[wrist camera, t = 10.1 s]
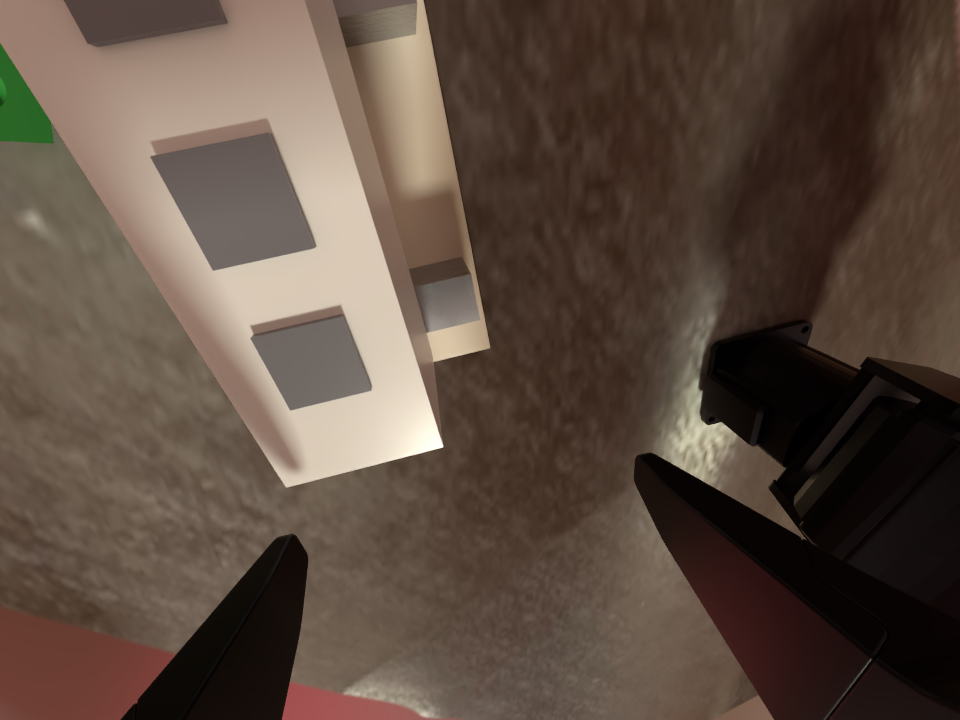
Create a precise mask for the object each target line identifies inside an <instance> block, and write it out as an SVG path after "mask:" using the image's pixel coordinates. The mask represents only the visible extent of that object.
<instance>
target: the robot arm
mask: <svg viewBox="0 0 960 720" xmlns="http://www.w3.org/2000/svg"><path fill="white" fill-rule="evenodd" d="M812 326H813V325H812V323H810V322H808V321H805V320H800V321H796V322H792V323H788V324H784V325H780V326H776V327H772V328H768V329H764V330H760V331H756V332H752V333H748V334H744V335H740V336H736V337H732V338H728V339H724V340H720V341H718V342H716V343H715V344H714V345H713V346H712V349H711V354H710V361H709V368H708V374H707V381H706V388H705V395H704V401H703V408H702V415H701V420H702V421H703V422H704V423H706V424H707V425H711V424H715V423H719V422H723V423H724V424H725V425H726V426H727V427H729V428H730V429H731V430H732V431H733V432H735V433H736V434H737V435H738V436H739V437H741V438H742V439H743V440H744V441H745V442H747V443H748V444H749V445H751V446H758V447H760V448H761V449H762V450H763V451H765V452H766V453H767V454H768V455H770V456H771V457H772V458H773V459H774V460H776V461H777V462H778V463H779V464H781V465H782V466H783V467H786V468H785V469H784V470H783V472H782V473H781V474H780V476H779V477H778V478H777V480H773V482H772V483H771V484H770V485H769V487H768V488H769V490H770V491H771V492H772V494H773V495H774V496H775V498H776V499H777V500H778V502H779V503H780V505H781V506H782V507H783V509H784V510H785V511H786V513H787V514H788V515H789V517H790V518H791V519H792V521H793V522H794V523H795V525H796V526H797V527H798V529H799V530H800V531H801V533H802V534H803V536H804V537H805V538H806V540H805V539H801V537H800V536H798V535H796V534H794V533H793V532H791V531H789V530H787V529H786V528H784V527H782V526H780V525H779V524H777V523H775V522H773V521H772V520H770V519H768V518H766V517H765V516H763V515H761V514H759V513H757V512H756V511H754V510H752V509H750V508H749V507H747V506H745V505H743V504H742V503H740V502H738V501H736V500H735V499H733V498H731V497H729V496H728V495H726V494H724V493H722V492H721V491H719V490H717V489H715V488H714V487H712V486H710V485H708V484H706V483H705V482H703V481H701V480H699V479H698V478H696V477H694V476H692V475H691V474H689V473H687V472H685V471H684V470H682V469H680V468H678V467H677V466H675V465H673V464H671V463H670V462H668V461H666V460H664V459H663V458H661V457H659V456H657V455H655V454H653V453H646V454H641V455H638V456H636V458H635V469H634V481H635V484H636V487H637V489H638V491H639V493H640V495H641V497H642V499H643V501H644V503H645V505H646V507H647V509H648V511H649V513H650V515H651V518H652V520H653V522H654V524H655V526H656V528H657V530H658V532H659V534H660V536H661V538H662V540H663V541H664V543H665V545H666V546H667V548H668V550H669V551H670V553H671V555H672V556H673V558H674V559H675V561H676V563H677V564H678V566H679V567H680V569H681V571H682V572H683V574H684V576H685V577H686V579H687V580H688V582H689V584H690V585H691V587H692V588H693V590H694V592H695V593H696V595H697V596H698V598H699V600H700V601H701V603H702V604H703V606H704V608H705V609H706V611H707V613H708V614H709V616H710V617H711V619H712V621H713V622H714V624H715V625H716V627H717V629H718V630H719V632H720V633H721V635H722V637H723V638H724V640H725V641H726V643H727V645H728V646H729V648H730V649H731V651H732V653H733V654H734V656H735V658H736V659H737V661H738V662H739V664H740V666H741V667H742V669H743V670H744V672H745V674H746V675H747V677H748V678H749V680H750V682H751V683H752V685H753V686H754V688H755V690H756V691H757V693H758V695H759V696H760V698H761V699H762V701H763V703H764V704H765V706H766V707H767V709H768V711H769V712H770V714H771V715H772V717H773V719H774V720H960V378H958V377H956V376H953V375H950V374H947V373H944V372H942V371H939V370H936V369H933V368H930V367H925V366H919V365H913V364H907V363H901V362H896V361H890V360H884V359H878V358H872V357H867V358H866V359H865V360H864V362H863V363H862V364H861V366H860V367H861V369H860V370H859V369H857V368H855V367H853V366H850V365H848V364H846V363H844V362H842V361H840V360H837V359H835V358H833V357H831V356H829V355H827V354H824V353H822V352H820V351H818V350H816V349H814V348H811V347H809V346H807V344H808V341H809V338H810V334H811V331H812ZM721 348H722V349H721ZM720 349H721V350H720ZM307 569H308V555H307V552H306V551H305V549H304V547H303V546H302V544H301V543H300V541H299V539H298V538H297V536H296V535H294V534H289V535H285V536H280V537H278V538H276V539H275V540H274V541H273V542H272V543H271V544H270V546H269V547H268V548H267V549H266V550H265V551H264V553H263V554H262V555H261V556H260V557H259V558H258V560H257V561H256V562H255V563H254V564H253V565H252V567H251V568H250V569H249V570H248V571H247V572H246V574H245V575H244V576H243V577H242V578H241V579H240V581H239V582H238V583H237V584H236V585H235V586H234V588H233V589H232V590H231V591H230V592H229V593H228V595H227V596H226V597H225V598H224V599H223V600H222V602H221V603H220V604H219V605H218V606H217V608H216V609H215V610H214V611H213V612H212V613H211V615H210V616H209V617H208V618H207V619H206V620H205V622H204V623H203V624H202V625H201V626H200V627H199V629H198V630H197V631H196V632H195V633H194V634H193V636H192V637H191V638H190V639H189V640H188V641H187V643H186V644H185V645H184V646H183V647H182V648H181V650H180V651H179V652H178V653H177V654H176V655H175V657H174V658H173V659H172V660H171V661H170V663H169V664H168V665H167V666H166V667H165V668H164V670H163V671H162V672H161V673H160V674H159V675H158V677H157V678H156V679H155V680H154V681H153V682H152V684H151V685H150V686H149V687H148V688H147V689H146V691H145V692H144V693H143V694H142V695H141V696H140V698H139V699H138V701H137V703H136V704H134V705H133V706H132V707H131V708H130V709H129V710H128V711H127V713H126V714H125V715H124V716H123V717H122V719H121V720H282V716H283V711H284V706H285V701H286V697H287V692H288V687H289V683H290V678H291V673H292V668H293V664H294V659H295V654H296V649H297V645H298V640H299V635H300V629H301V622H302V615H303V605H304V596H305V587H306V578H307Z"/></svg>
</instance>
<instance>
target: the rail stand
mask: <svg viewBox="0 0 960 720" xmlns="http://www.w3.org/2000/svg"><path fill="white" fill-rule="evenodd" d="M333 3H334V7H335V10H336V14H337V17H338V21H339V24H340V28H341V31H342V35H343V38H344V42H345V46H346V49H347V53H348V56H349V60H350V63H351V67H352V70H353V74H354V77H355V81H356V84H357V88H358V92H359V95H360V99H361V102H362V106H363V109H364V113H365V116H366V120H367V123H368V127H369V131H370V134H371V138H372V141H373V145H374V148H375V152H376V155H377V159H378V162H379V166H380V170H381V173H382V177H383V180H384V184H385V187H386V191H387V194H388V198H389V201H390V205H391V208H392V212H393V216H394V219H395V223H396V226H397V230H398V233H399V237H400V240H401V244H402V247H403V251H404V255H405V258H406V262H407V265H408V269H409V272H410V276H411V279H412V283H413V286H414V290H415V293H416V297H417V301H418V304H419V308H420V311H421V315H422V318H423V322H424V325H425V329H426V332H427V336H428V340H429V343H430V347H431V350H432V355H433V362H435V361H439V360H443V359H447V358H452V357H456V356H460V355H464V354H468V353H472V352H476V351H480V350H484V349H488V348H490V344H489V339H488V334H487V329H486V323H485V318H484V313H483V308H482V303H481V297H480V292H479V287H478V282H477V277H476V271H475V266H474V261H473V256H472V250H471V245H470V240H469V235H468V230H467V224H466V219H465V214H464V209H463V204H462V198H461V193H460V188H459V183H458V178H457V172H456V167H455V162H454V157H453V151H452V146H451V141H450V136H449V131H448V125H447V120H446V115H445V110H444V105H443V99H442V94H441V89H440V84H439V78H438V73H437V68H436V63H435V58H434V52H433V47H432V42H431V37H430V32H429V26H428V21H427V16H426V11H425V6H424V0H333Z"/></svg>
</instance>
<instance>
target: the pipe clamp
mask: <svg viewBox="0 0 960 720" xmlns="http://www.w3.org/2000/svg"><path fill="white" fill-rule="evenodd" d="M0 141H14V142H34V143H53V136H52V129H51V121H50V120H49V118H48V116H47V115H46V113H45V112H44V110H43V109H42V107H41V106H40V104H39V102H38V101H37V99H36V98H35V96H34V95H33V93H32V92H31V90H30V88H29V87H28V85H27V84H26V82H25V81H24V79H23V78H22V76H21V74H20V73H19V71H18V70H17V68H16V67H15V65H14V64H13V62H12V60H11V59H10V57H9V56H8V54H7V53H6V51H5V50H4V48H3V46H2V45H1V43H0Z"/></svg>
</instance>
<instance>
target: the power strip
mask: <svg viewBox="0 0 960 720" xmlns="http://www.w3.org/2000/svg"><path fill="white" fill-rule="evenodd" d="M0 43H1V45H2V46H3V48H4V50H5V51H6V53H7V54H8V56H9V57H10V59H11V60H12V62H13V64H14V65H15V67H16V68H17V70H18V71H19V73H20V74H21V76H22V78H23V79H24V81H25V82H26V84H27V85H28V87H29V88H30V90H31V92H32V93H33V95H34V96H35V98H36V99H37V101H38V102H39V104H40V106H41V107H42V109H43V110H44V112H45V113H46V115H47V116H48V118H49V120H50V121H51V123H52V124H53V126H54V127H55V129H56V130H57V132H58V134H59V135H60V137H61V138H62V140H63V141H64V143H65V144H66V146H67V148H68V149H69V151H70V152H71V154H72V155H73V157H74V158H75V160H76V162H77V163H78V165H79V166H80V168H81V169H82V171H83V172H84V174H85V175H86V177H87V179H88V180H89V182H90V183H91V185H92V186H93V188H94V189H95V191H96V193H97V194H98V196H99V197H100V199H101V200H102V202H103V203H104V205H105V207H106V208H107V210H108V211H109V213H110V214H111V216H112V217H113V219H114V221H115V222H116V224H117V225H118V227H119V228H120V230H121V231H122V233H123V235H124V236H125V238H126V239H127V241H128V242H129V244H130V245H131V247H132V249H133V250H134V252H135V253H136V255H137V256H138V258H139V259H140V261H141V263H142V264H143V266H144V267H145V269H146V270H147V272H148V273H149V275H150V277H151V278H152V280H153V281H154V283H155V284H156V286H157V287H158V289H159V291H160V292H161V294H162V295H163V297H164V298H165V300H166V301H167V303H168V305H169V306H170V308H171V309H172V311H173V312H174V314H175V315H176V317H177V319H178V320H179V322H180V323H181V325H182V326H183V328H184V329H185V331H186V333H187V334H188V336H189V337H190V339H191V340H192V342H193V343H194V345H195V347H196V348H197V350H198V351H199V353H200V354H201V356H202V357H203V359H204V361H205V362H206V364H207V365H208V367H209V368H210V370H211V371H212V373H213V375H214V376H215V378H216V379H217V381H218V382H219V384H220V385H221V387H222V388H223V390H224V392H225V393H226V395H227V396H228V398H229V399H230V401H231V402H232V404H233V406H234V407H235V409H236V410H237V412H238V413H239V415H240V416H241V418H242V420H243V421H244V423H245V424H246V426H247V427H248V429H249V430H250V432H251V434H252V435H253V437H254V438H255V440H256V441H257V443H258V444H259V446H260V448H261V449H262V451H263V452H264V454H265V455H266V457H267V458H268V460H269V462H270V463H271V465H272V466H273V468H274V469H275V471H276V472H277V474H278V476H279V477H280V479H281V480H282V482H283V483H284V485H285V486H286V488H287V487H291V486H295V485H298V484H302V483H306V482H310V481H314V480H318V479H322V478H326V477H329V476H333V475H337V474H341V473H345V472H349V471H353V470H357V469H361V468H364V467H368V466H372V465H376V464H380V463H384V462H388V461H392V460H396V459H399V458H403V457H407V456H411V455H415V454H419V453H423V452H427V451H431V450H434V449H438V448H442V447H443V440H442V431H441V423H440V414H439V406H438V397H437V389H436V380H435V372H434V363H433V355H432V350H431V347H430V343H429V340H428V336H427V332H426V329H425V325H424V322H423V318H422V315H421V311H420V308H419V304H418V301H417V297H416V293H415V290H414V286H413V283H412V279H411V276H410V272H409V269H408V265H407V262H406V258H405V255H404V251H403V247H402V244H401V240H400V237H399V233H398V230H397V226H396V223H395V219H394V216H393V212H392V208H391V205H390V201H389V198H388V194H387V191H386V187H385V184H384V180H383V177H382V173H381V170H380V166H379V162H378V159H377V155H376V152H375V148H374V145H373V141H372V138H371V134H370V131H369V127H368V123H367V120H366V116H365V113H364V109H363V106H362V102H361V99H360V95H359V92H358V88H357V84H356V81H355V77H354V74H353V70H352V67H351V63H350V60H349V56H348V53H347V49H346V46H345V42H344V38H343V35H342V31H341V28H340V24H339V21H338V17H337V14H336V10H335V7H334V3H333V0H0Z"/></svg>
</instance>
